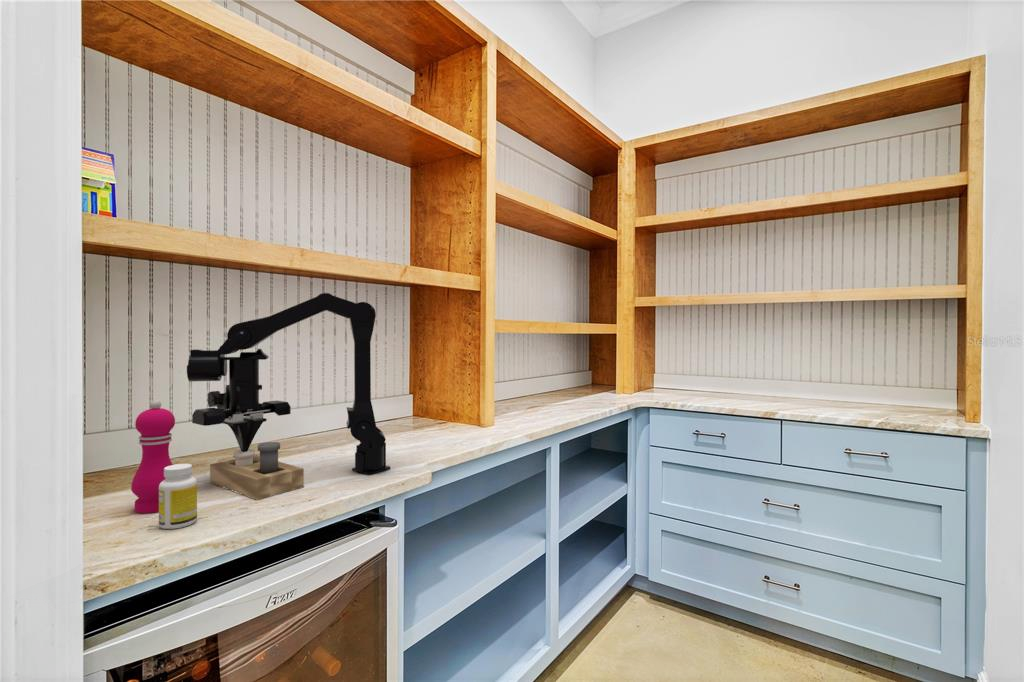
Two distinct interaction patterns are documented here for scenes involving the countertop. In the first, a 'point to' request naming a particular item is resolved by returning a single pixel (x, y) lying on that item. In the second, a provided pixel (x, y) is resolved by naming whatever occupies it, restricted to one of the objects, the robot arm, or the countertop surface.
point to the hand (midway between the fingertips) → (244, 451)
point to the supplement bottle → (177, 497)
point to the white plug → (243, 457)
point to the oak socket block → (256, 478)
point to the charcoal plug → (268, 457)
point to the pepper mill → (152, 456)
